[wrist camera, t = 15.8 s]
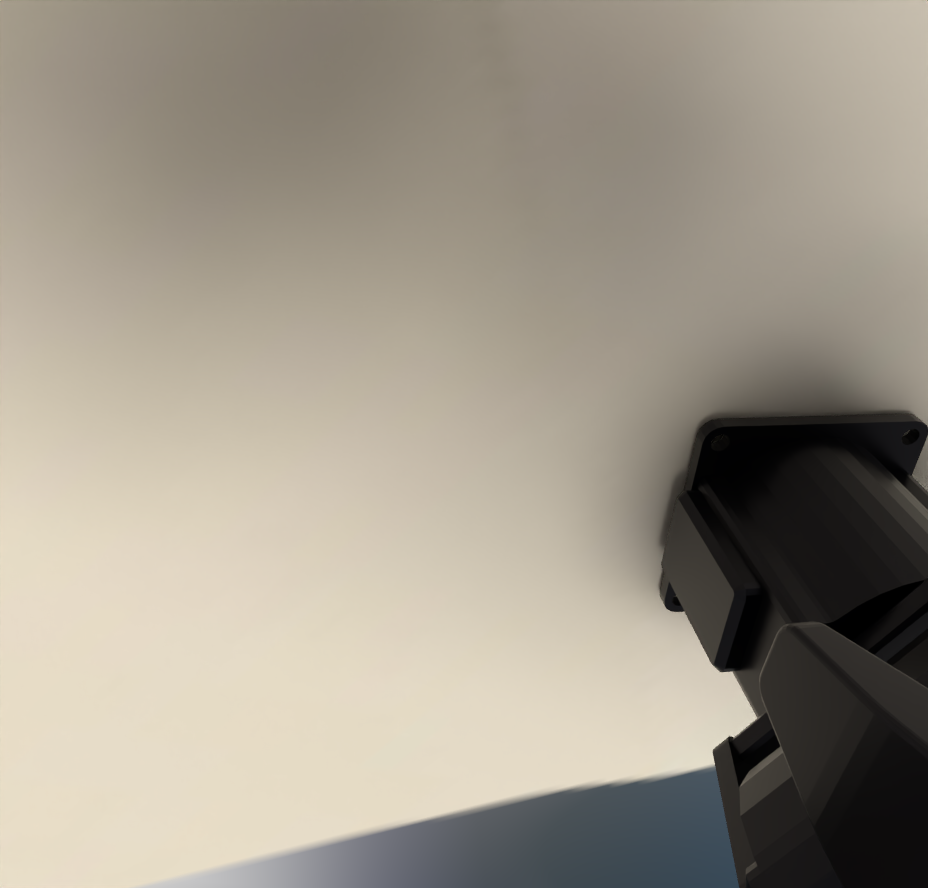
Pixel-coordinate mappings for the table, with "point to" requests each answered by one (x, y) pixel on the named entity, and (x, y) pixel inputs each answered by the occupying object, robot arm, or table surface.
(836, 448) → the robot arm
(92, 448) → the table surface
